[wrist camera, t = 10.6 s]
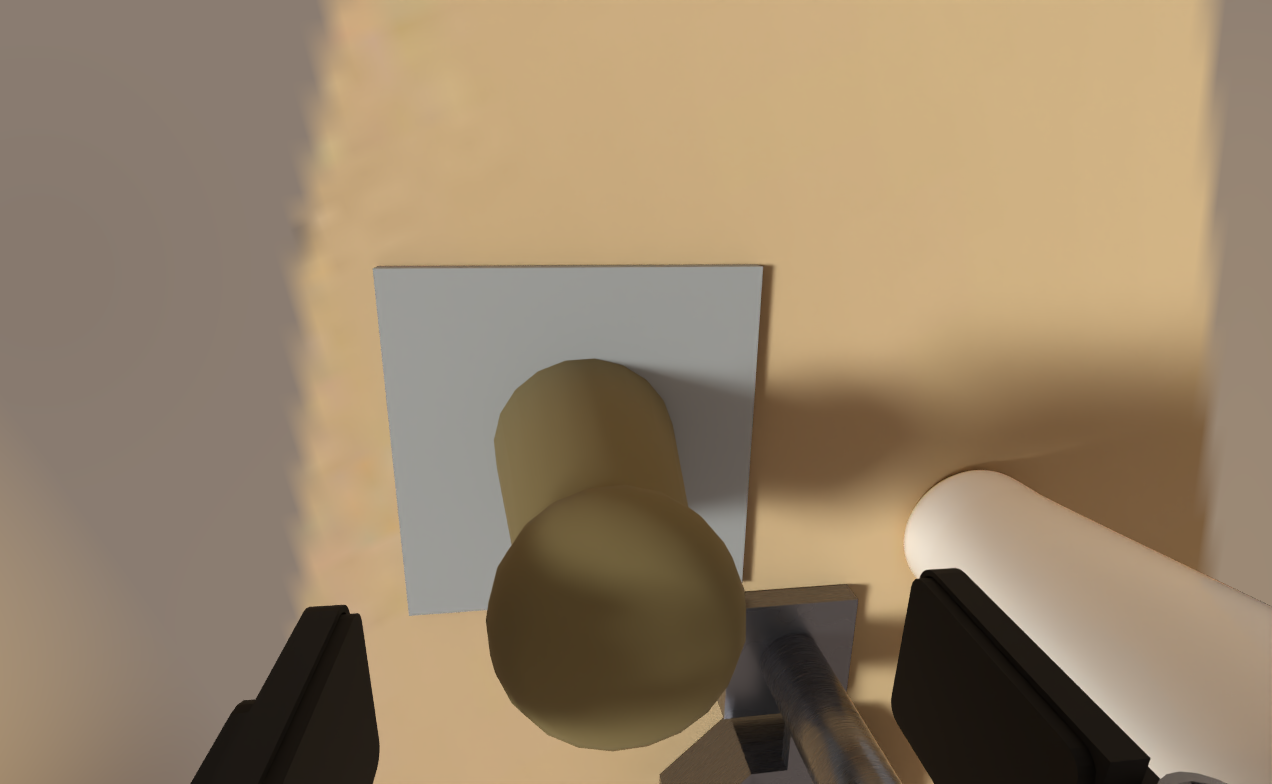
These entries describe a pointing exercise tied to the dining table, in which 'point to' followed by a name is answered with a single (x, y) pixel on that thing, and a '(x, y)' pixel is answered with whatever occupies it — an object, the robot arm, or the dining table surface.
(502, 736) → the dining table surface
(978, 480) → the drinking glass
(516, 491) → the olive rounded tall piece
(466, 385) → the mat
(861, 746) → the ring stand
